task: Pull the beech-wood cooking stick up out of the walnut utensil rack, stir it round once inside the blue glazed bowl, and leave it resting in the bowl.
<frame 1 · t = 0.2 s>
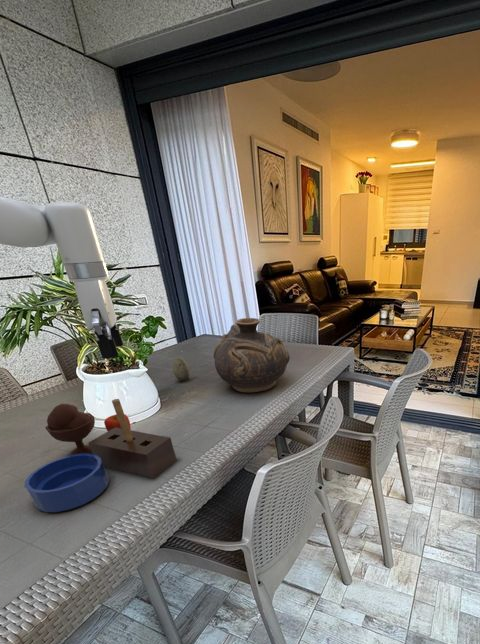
hand: (113, 351, 82), 28 cm above the table, tool pointing down, fingers open, 9 cm apart
decorative egg: (183, 380, 143), on the table
utensil rack: (137, 462, 92), on the table
cooking stick: (127, 433, 87), in the utensil rack
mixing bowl: (74, 492, 82), on the table
apple: (123, 439, 103), on the table
ice cream bowl: (83, 452, 97), on the table
vessel: (255, 384, 137), on the table
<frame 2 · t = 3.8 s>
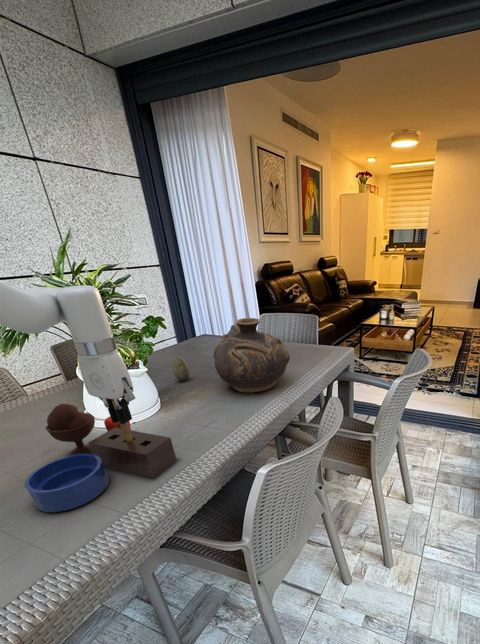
hand: (122, 420, 85), 13 cm above the table, tool pointing down, fingers closed on cooking stick, 1 cm apart
cooking stick: (127, 433, 87), in the utensil rack, touching gripper
everything else where it was.
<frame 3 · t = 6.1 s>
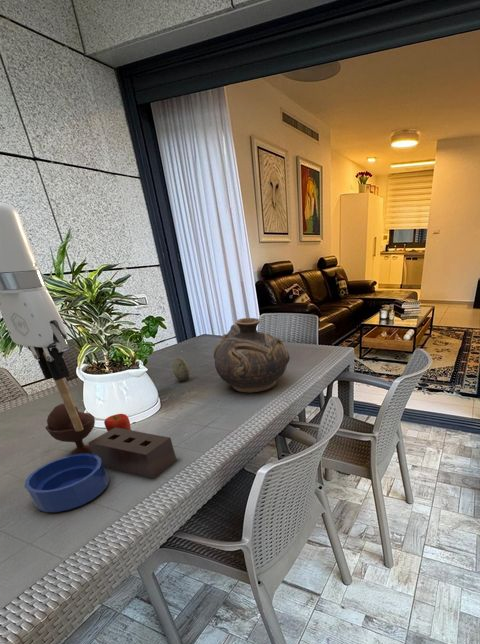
hand: (57, 376, 73), 27 cm above the table, tool pointing down, fingers closed on cooking stick, 1 cm apart
cooking stick: (64, 392, 75), point 23 cm above the table, touching gripper
everything else where it was.
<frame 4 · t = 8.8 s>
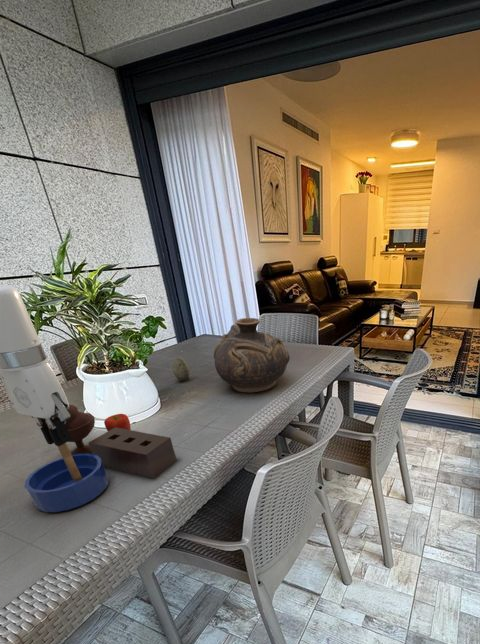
hand: (60, 441, 74), 14 cm above the table, tool pointing down, fingers closed on cooking stick, 1 cm apart
cooking stick: (66, 455, 76), in the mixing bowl, point 11 cm above the table, touching gripper
everything else where it was.
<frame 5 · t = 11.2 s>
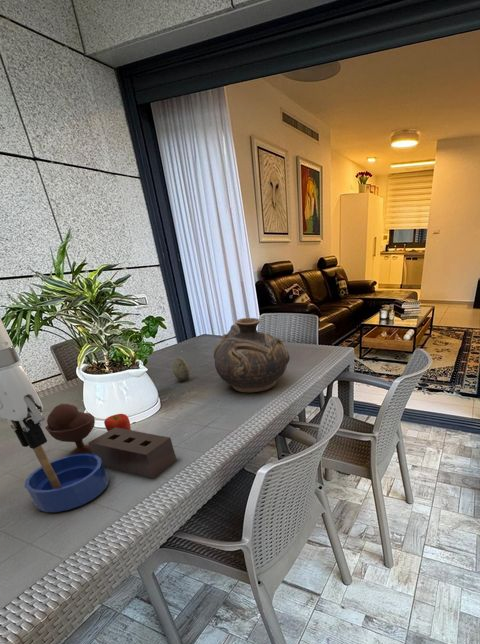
hand: (35, 443, 73), 14 cm above the table, tool pointing down, fingers closed on cooking stick, 1 cm apart
cooking stick: (42, 458, 75), in the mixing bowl, point 11 cm above the table, touching gripper
everything else where it was.
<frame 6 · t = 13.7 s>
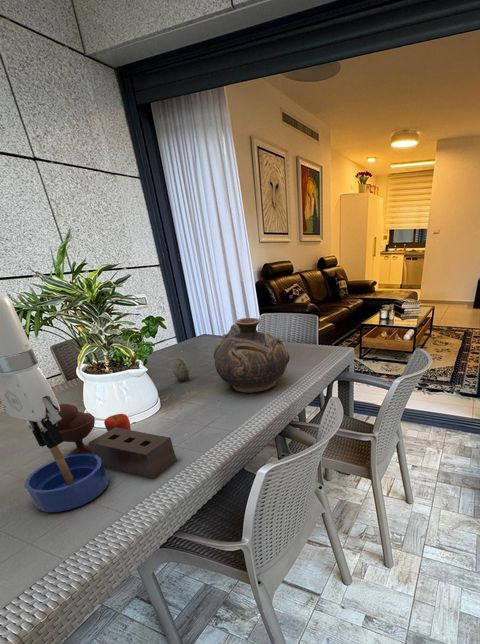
hand: (51, 443, 75), 13 cm above the table, tool pointing down, fingers closed on cooking stick, 1 cm apart
cooking stick: (58, 457, 77), in the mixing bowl, point 10 cm above the table, touching gripper
everything else where it was.
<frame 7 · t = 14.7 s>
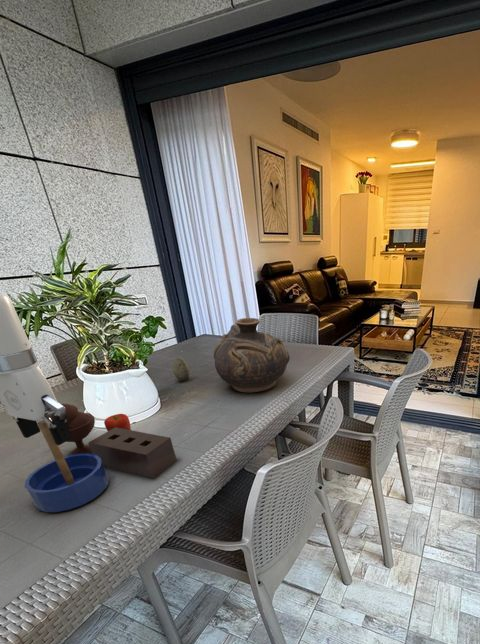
hand: (48, 438, 75), 15 cm above the table, tool pointing down, fingers open, 9 cm apart
cooking stick: (59, 457, 77), in the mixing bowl, point 10 cm above the table
everything else where it was.
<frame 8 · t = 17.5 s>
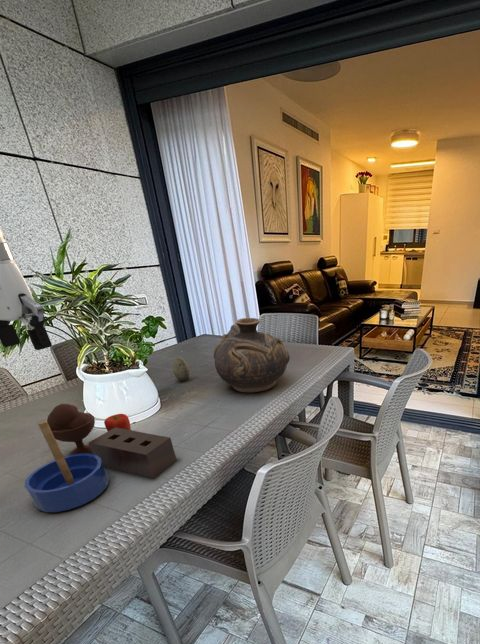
hand: (27, 346, 73), 32 cm above the table, tool pointing down, fingers open, 9 cm apart
nothing on the table moved.
at the end: cooking stick inside the target area in the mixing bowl (0.1 cm from its centre), point 9.6 cm above the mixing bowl's base; cooking stick moved 14.7 cm from its start; the gripper is holding nothing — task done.
